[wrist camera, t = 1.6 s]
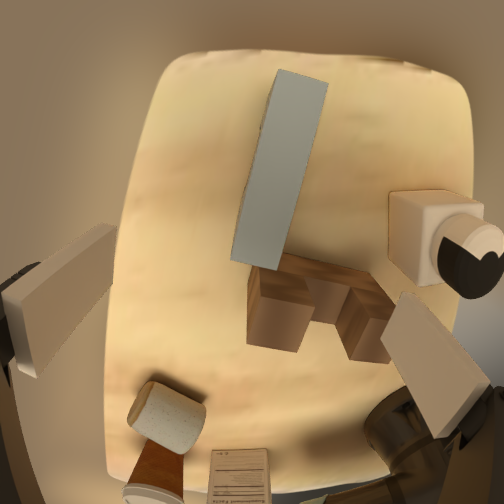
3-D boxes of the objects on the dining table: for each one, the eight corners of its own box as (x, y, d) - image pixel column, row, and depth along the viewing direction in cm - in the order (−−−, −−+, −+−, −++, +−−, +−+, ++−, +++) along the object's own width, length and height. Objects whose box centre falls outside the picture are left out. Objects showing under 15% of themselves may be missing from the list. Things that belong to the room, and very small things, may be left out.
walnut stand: (369, 273, 31) (410, 324, 21) (355, 306, 32) (388, 364, 22) (257, 246, 30) (260, 296, 20) (247, 283, 31) (246, 343, 21)
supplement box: (270, 472, 44) (274, 543, 30) (220, 474, 44) (215, 543, 30) (268, 447, 41) (272, 529, 27) (211, 449, 41) (202, 529, 27)
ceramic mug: (153, 366, 35) (136, 411, 28) (210, 395, 36) (203, 442, 29) (127, 406, 38) (112, 445, 31) (176, 430, 39) (167, 470, 32)
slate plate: (301, 103, 25) (328, 83, 16) (268, 228, 29) (276, 270, 20) (268, 94, 25) (278, 68, 15) (236, 220, 29) (229, 259, 19)
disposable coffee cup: (203, 459, 42) (196, 518, 31) (157, 463, 43) (144, 517, 32) (174, 428, 39) (160, 494, 28) (125, 433, 40) (106, 491, 29)
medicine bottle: (440, 251, 30) (507, 300, 19) (386, 259, 30) (445, 318, 19) (444, 188, 27) (521, 217, 16) (387, 191, 28) (459, 223, 16)
